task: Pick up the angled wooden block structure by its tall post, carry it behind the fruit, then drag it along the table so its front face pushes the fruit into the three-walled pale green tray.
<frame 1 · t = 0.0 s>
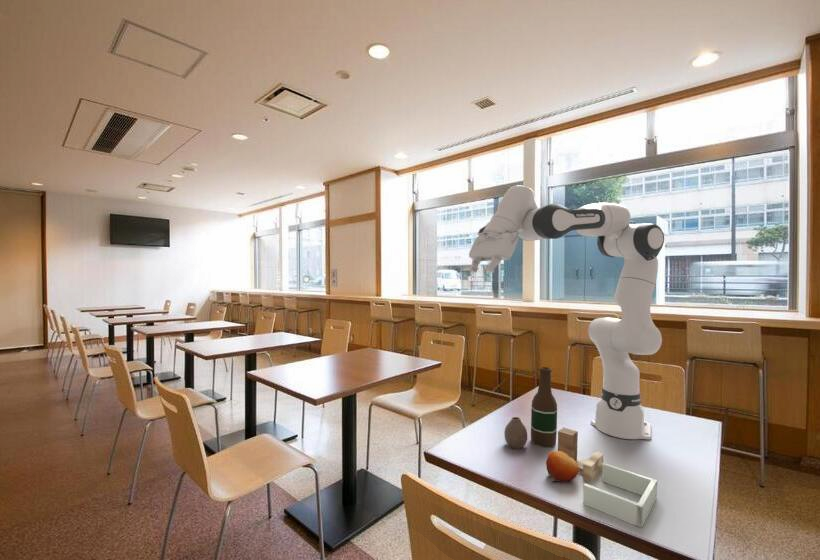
hand: (480, 271, 114), 54 cm above the table, tool tilted 30°, fingers open, 8 cm apart
tray: (620, 501, 91), on the table
angled wooden block structure: (567, 464, 109), on the table
beer bottle: (543, 442, 123), on the table
fruit: (561, 479, 101), on the table
vase: (515, 446, 120), on the table
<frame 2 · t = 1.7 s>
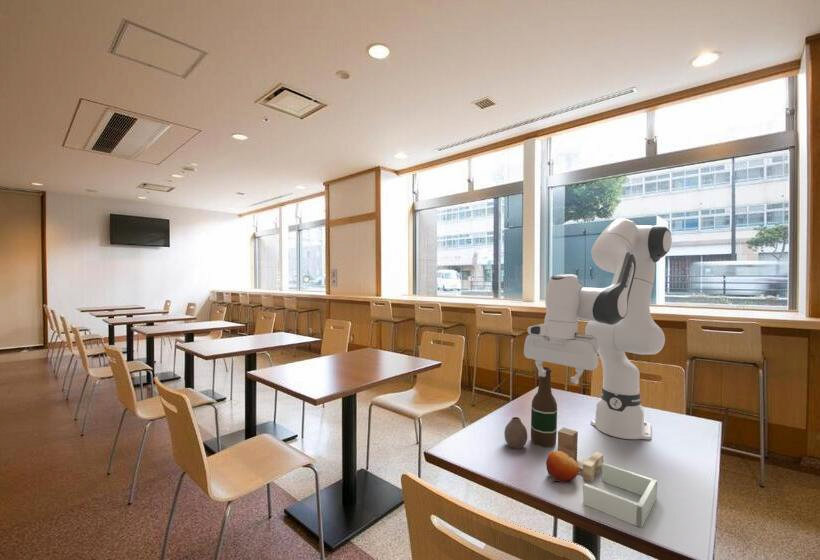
hand: (557, 380, 108), 24 cm above the table, tool pointing down, fingers open, 8 cm apart
nothing on the table moved.
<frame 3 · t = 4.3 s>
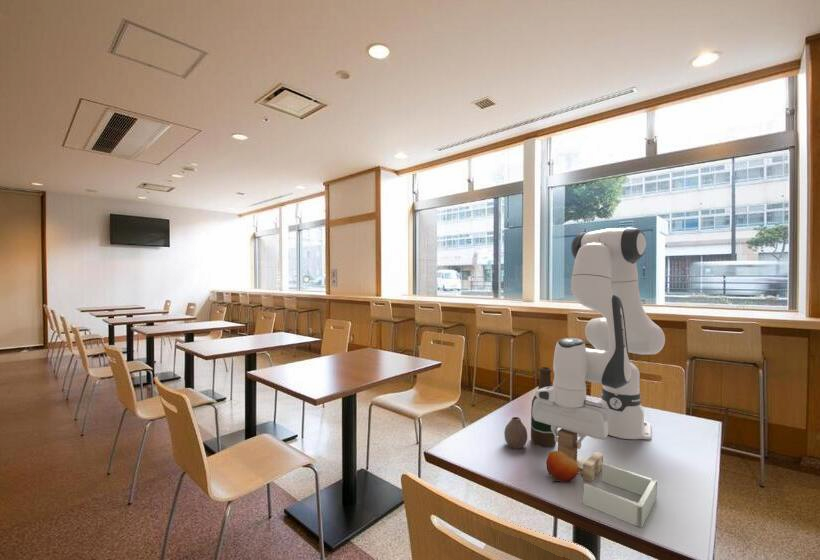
hand: (567, 444, 109), 6 cm above the table, tool pointing down, fingers closed on angled wooden block structure, 4 cm apart
angled wooden block structure: (567, 464, 109), on the table, touching gripper
everything else where it was.
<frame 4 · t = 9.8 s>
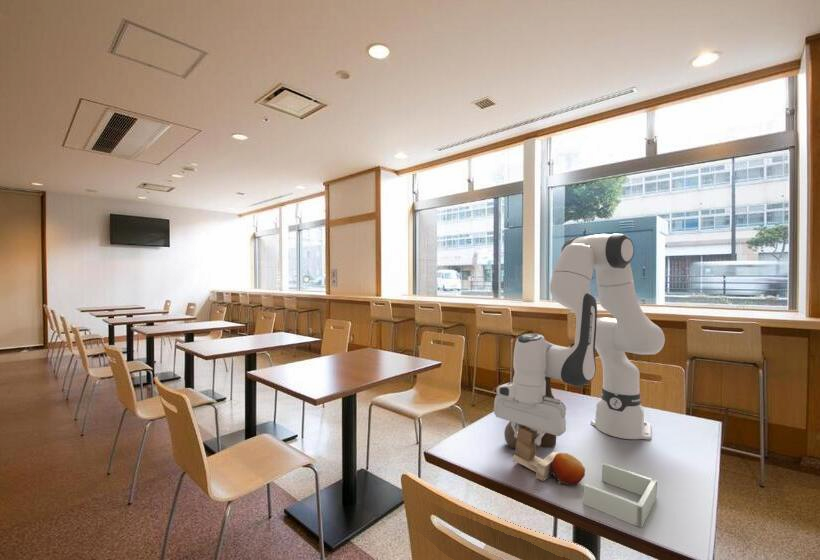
hand: (527, 441, 107), 7 cm above the table, tool pointing down, fingers closed on angled wooden block structure, 4 cm apart
angled wooden block structure: (524, 460, 108), point 1 cm above the table, tilted 6°, touching fruit, gripper
fruit: (567, 482, 99), on the table, touching angled wooden block structure
everything else where it was.
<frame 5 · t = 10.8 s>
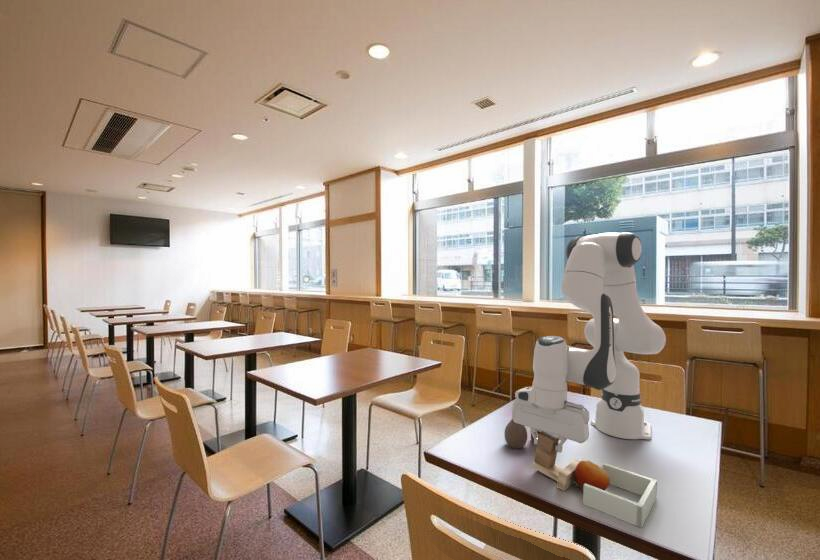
hand: (547, 447, 103), 7 cm above the table, tool pointing down, fingers closed on angled wooden block structure, 4 cm apart
angled wooden block structure: (543, 468, 104), point 1 cm above the table, tilted 8°, touching gripper
fruit: (591, 491, 95), on the table
everything else where it was.
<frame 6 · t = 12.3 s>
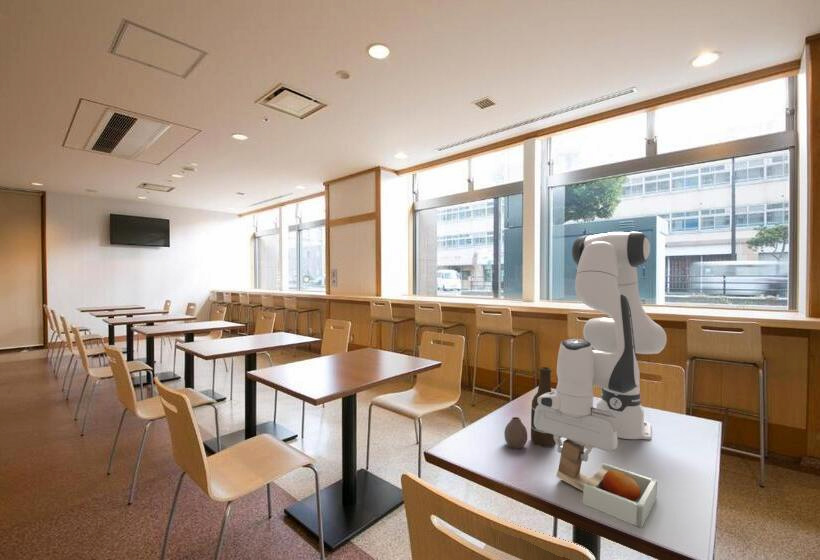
hand: (572, 456, 99), 7 cm above the table, tool pointing down, fingers closed on angled wooden block structure, 4 cm apart
angled wooden block structure: (567, 477, 99), point 1 cm above the table, tilted 8°, touching gripper
fruit: (620, 502, 91), resting in tray
everything else where it was.
when the fingers open (7 cm above the table, at t = 13.9 s): angled wooden block structure drops 1 cm, on the table.
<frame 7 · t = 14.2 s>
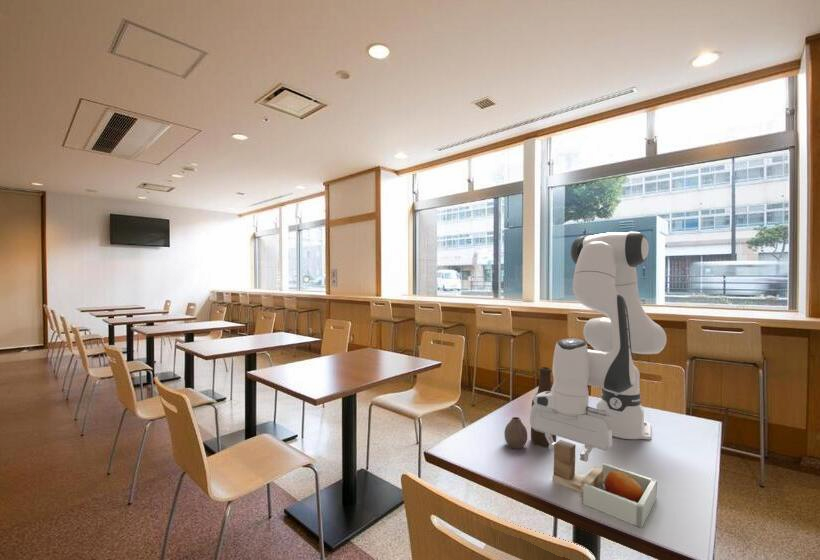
hand: (568, 454, 100), 7 cm above the table, tool pointing down, fingers open, 7 cm apart
angled wooden block structure: (563, 480, 100), on the table
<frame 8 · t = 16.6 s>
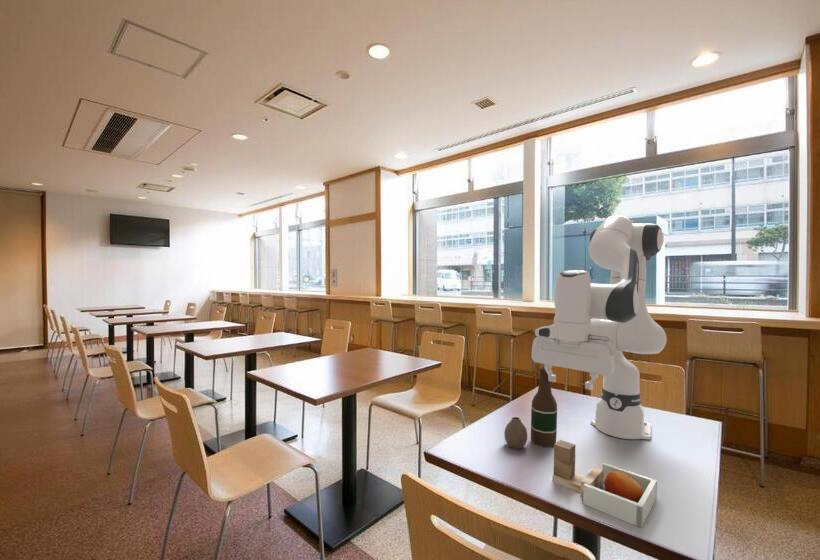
hand: (570, 385, 99), 25 cm above the table, tool pointing down, fingers open, 8 cm apart
nothing on the table moved.
at the end: fruit inside the target area on the tray (0.1 cm from its centre), point 0.0 cm above the tray's base; fruit moved 14.5 cm from its start; the gripper is holding nothing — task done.
